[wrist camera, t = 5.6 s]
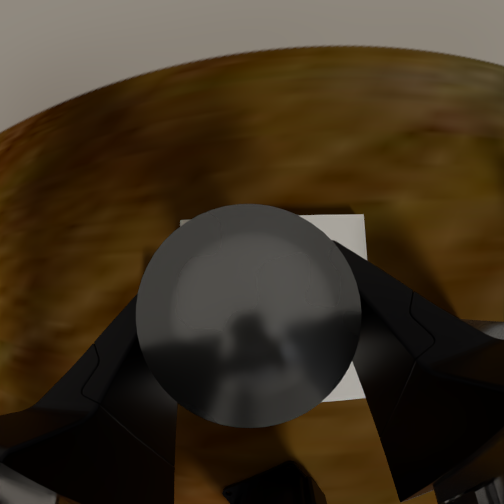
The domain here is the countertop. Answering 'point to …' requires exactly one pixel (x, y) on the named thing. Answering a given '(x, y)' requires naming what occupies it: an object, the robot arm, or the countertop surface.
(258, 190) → the countertop surface
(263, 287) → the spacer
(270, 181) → the countertop surface
